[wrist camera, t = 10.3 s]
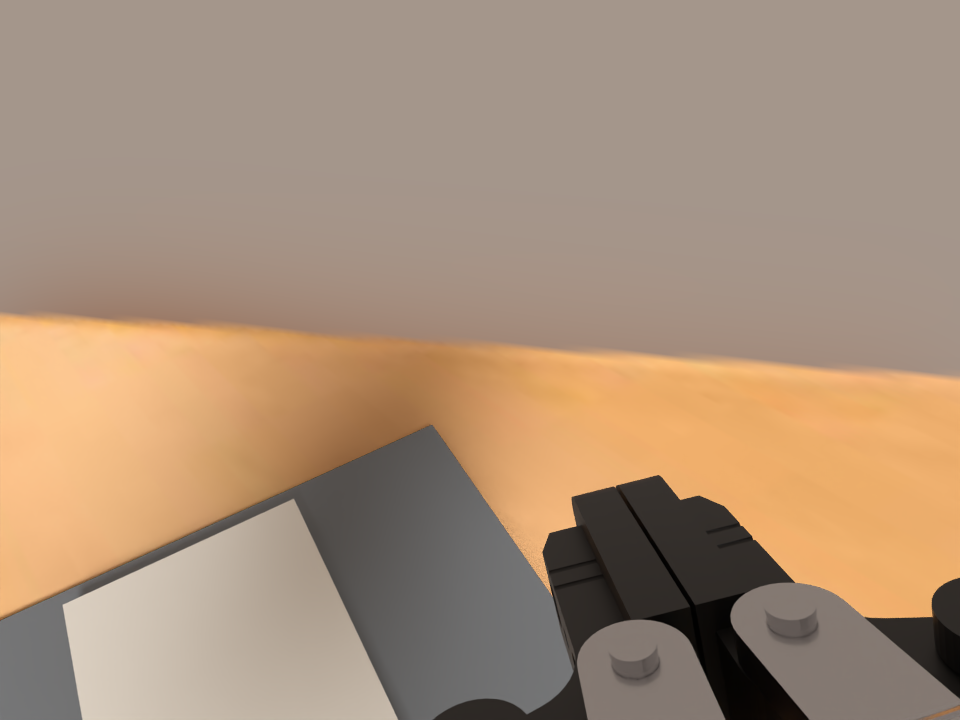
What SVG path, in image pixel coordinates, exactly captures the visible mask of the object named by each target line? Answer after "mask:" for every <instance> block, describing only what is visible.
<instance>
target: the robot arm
mask: <svg viewBox="0 0 960 720" xmlns="http://www.w3.org/2000/svg"><path fill="white" fill-rule="evenodd" d="M572 506H573V511H574V516H575V521H576V525H577V526H576V527H572V528H568V529H564V530H560V531H556V532H552V533H550V534H549V536H548V539H547V541H546V544H545V547H544V549H543V552H542V553H543V557H544V561H545V565H546V570H547V574H548V578H549V583H550V587H551V591H552V595H553V600H554V604H555V608H556V612H557V617H558V621H559V625H560V629H561V633H562V636H563V640H564V643H565V646H566V649H567V653H568V656H569V659H570V663H571V666H572V669H573V674H572V676H571V678H570V680H569V682H568V683H567V684H566V686H565V687H564V688H563V689H562V691H561V692H560V693H559V694H558V695H556V696H555V697H554V698H553V699H552V700H550V701H549V702H547V703H546V704H544V705H543V706H541V707H539V708H537V709H536V710H534V711H532V712H530V713H528V714H526V713H525V712H524V711H523V710H522V709H521V708H519V707H517V706H516V705H514V704H512V703H510V702H507V701H504V700H499V699H489V698H484V699H475V700H470V701H466V702H463V703H460V704H457V705H455V706H453V707H451V708H449V709H447V710H445V711H444V712H442V713H441V714H439V715H438V716H437V717H435V718H434V719H433V720H960V578H958V579H954V580H952V581H949V582H947V583H945V584H944V585H942V586H941V587H939V588H938V590H937V591H936V592H935V593H934V595H933V598H932V615H933V617H920V618H867V617H863V616H862V615H861V614H859V613H858V612H857V611H856V610H855V609H854V608H852V607H851V606H850V605H849V604H848V603H847V602H845V601H844V600H843V599H841V598H840V597H839V596H837V595H835V594H834V593H832V592H830V591H828V590H825V589H822V588H820V587H816V586H812V585H807V584H801V583H795V582H794V581H793V580H792V579H791V578H790V577H789V576H788V575H787V573H786V572H785V571H784V570H783V569H782V568H781V567H780V566H779V565H778V564H777V563H776V562H775V561H774V559H773V558H772V557H771V556H770V555H769V554H768V553H767V552H766V551H765V550H764V549H763V548H762V547H761V545H760V544H759V543H758V542H757V541H756V540H753V538H752V536H751V535H750V534H749V533H748V531H747V530H746V529H745V528H744V527H743V526H740V523H739V522H738V521H737V520H736V519H735V517H734V516H733V515H732V514H731V513H730V512H729V511H728V510H727V509H726V508H725V507H724V506H722V505H720V504H717V503H715V502H713V501H710V500H708V499H706V498H704V497H701V496H695V497H691V498H687V499H683V500H680V499H679V498H678V497H677V496H676V494H675V493H674V492H673V491H672V489H671V488H670V487H669V486H668V485H667V483H666V482H665V481H664V480H663V478H662V477H661V476H659V475H657V476H653V477H649V478H645V479H641V480H637V481H633V482H629V483H625V484H621V485H617V486H616V488H615V487H610V488H606V489H602V490H598V491H594V492H590V493H586V494H582V495H578V496H574V497H572Z"/></svg>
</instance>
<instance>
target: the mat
mask: <svg viewBox="0 0 960 720" xmlns="http://www.w3.org/2000/svg"><path fill="white" fill-rule="evenodd" d="M292 499H294V500H295V502H296V504H297V506H298V508H299V511H300V513H301V515H302V517H303V519H304V521H305V523H306V525H307V528H308V530H309V532H310V534H311V536H312V538H313V540H314V542H315V545H316V547H317V549H318V551H319V553H320V555H321V557H322V559H323V561H324V564H325V566H326V568H327V570H328V572H329V574H330V576H331V578H332V581H333V583H334V585H335V587H336V589H337V591H338V593H339V595H340V598H341V600H342V602H343V604H344V606H345V608H346V610H347V612H348V614H349V617H350V619H351V621H352V623H353V625H354V627H355V629H356V631H357V634H358V636H359V638H360V640H361V642H362V644H363V646H364V648H365V651H366V653H367V655H368V657H369V659H370V661H371V663H372V665H373V667H374V670H375V672H376V674H377V676H378V678H379V680H380V682H381V684H382V687H383V689H384V691H385V693H386V695H387V697H388V699H389V701H390V704H391V706H392V708H393V710H394V712H395V714H396V716H397V718H398V720H433V719H434V718H435V717H437V716H438V715H439V714H441V713H442V712H444V711H445V710H447V709H449V708H451V707H453V706H455V705H457V704H460V703H463V702H466V701H470V700H475V699H484V698H489V699H499V700H504V701H507V702H510V703H512V704H514V705H516V706H517V707H519V708H521V709H522V710H523V711H524V712H525V713H526V714H528V713H530V712H532V711H534V710H536V709H537V708H539V707H541V706H543V705H544V704H546V703H547V702H549V701H550V700H552V699H553V698H554V697H555V696H556V695H558V694H559V693H560V692H561V691H562V689H563V688H564V687H565V686H566V684H567V683H568V682H569V680H570V678H571V676H572V674H573V669H572V666H571V663H570V659H569V656H568V653H567V649H566V646H565V643H564V640H563V636H562V633H561V629H560V625H559V621H558V617H557V612H556V608H555V604H554V600H553V597H552V596H551V594H550V593H549V591H548V590H547V588H546V587H545V585H544V584H543V583H542V581H541V580H540V578H539V577H538V575H537V574H536V573H535V571H534V570H533V568H532V567H531V565H530V564H529V563H528V561H527V560H526V558H525V557H524V555H523V554H522V553H521V551H520V550H519V548H518V547H517V545H516V544H515V543H514V541H513V540H512V538H511V537H510V535H509V534H508V533H507V531H506V530H505V528H504V527H503V525H502V524H501V522H500V521H499V520H498V518H497V517H496V515H495V514H494V512H493V511H492V510H491V508H490V507H489V505H488V504H487V502H486V501H485V500H484V498H483V497H482V495H481V494H480V492H479V491H478V490H477V488H476V487H475V485H474V484H473V482H472V481H471V480H470V478H469V477H468V475H467V474H466V472H465V471H464V470H463V468H462V467H461V465H460V464H459V462H458V461H457V459H456V458H455V457H454V455H453V454H452V452H451V451H450V449H449V448H448V447H447V445H446V444H445V442H444V441H443V439H442V438H441V437H440V435H439V434H438V432H437V431H436V429H435V428H434V427H433V425H430V426H428V427H426V428H424V429H421V430H419V431H417V432H415V433H413V434H410V435H408V436H406V437H404V438H402V439H399V440H397V441H395V442H393V443H390V444H388V445H386V446H384V447H382V448H379V449H377V450H375V451H373V452H371V453H368V454H366V455H364V456H362V457H360V458H357V459H355V460H353V461H351V462H349V463H346V464H344V465H342V466H340V467H338V468H335V469H333V470H331V471H329V472H327V473H324V474H322V475H320V476H318V477H316V478H313V479H311V480H309V481H307V482H305V483H302V484H300V485H298V486H296V487H294V488H291V489H289V490H287V491H285V492H283V493H280V494H278V495H276V496H274V497H272V498H269V499H267V500H265V501H263V502H260V503H258V504H256V505H254V506H252V507H249V508H247V509H245V510H243V511H241V512H238V513H236V514H234V515H232V516H230V517H227V518H225V519H223V520H221V521H219V522H216V523H214V524H212V525H210V526H208V527H205V528H203V529H201V530H199V531H197V532H194V533H192V534H190V535H188V536H186V537H183V538H181V539H179V540H177V541H175V542H172V543H170V544H168V545H166V546H164V547H161V548H159V549H157V550H155V551H153V552H150V553H148V554H146V555H144V556H142V557H139V558H137V559H135V560H133V561H130V562H128V563H126V564H124V565H122V566H119V567H117V568H115V569H113V570H111V571H108V572H106V573H104V574H102V575H100V576H97V577H95V578H93V579H91V580H89V581H86V582H84V583H82V584H80V585H78V586H75V587H73V588H71V589H69V590H67V591H64V592H62V593H60V594H58V595H56V596H53V597H51V598H49V599H47V600H45V601H42V602H40V603H38V604H36V605H34V606H31V607H29V608H27V609H25V610H23V611H20V612H18V613H16V614H14V615H12V616H9V617H7V618H5V619H3V620H0V720H82V714H81V708H80V703H79V697H78V691H77V685H76V680H75V674H74V668H73V662H72V657H71V651H70V645H69V639H68V634H67V628H66V622H65V616H64V610H63V604H66V603H68V602H70V601H72V600H74V599H76V598H79V597H81V596H83V595H85V594H87V593H89V592H92V591H94V590H96V589H98V588H100V587H103V586H105V585H107V584H109V583H111V582H113V581H116V580H118V579H120V578H122V577H124V576H126V575H129V574H131V573H133V572H135V571H137V570H140V569H142V568H144V567H146V566H148V565H150V564H153V563H155V562H157V561H159V560H161V559H163V558H166V557H168V556H170V555H172V554H174V553H177V552H179V551H181V550H183V549H185V548H187V547H190V546H192V545H194V544H196V543H198V542H200V541H203V540H205V539H207V538H209V537H211V536H214V535H216V534H218V533H220V532H222V531H224V530H227V529H229V528H231V527H233V526H235V525H237V524H240V523H242V522H244V521H246V520H248V519H251V518H253V517H255V516H257V515H259V514H261V513H264V512H266V511H268V510H270V509H272V508H274V507H277V506H279V505H281V504H283V503H285V502H288V501H290V500H292Z"/></svg>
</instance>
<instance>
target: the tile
mask: <svg viewBox="0 0 960 720" xmlns="http://www.w3.org/2000/svg"><path fill="white" fill-rule="evenodd" d="M63 610H64V616H65V622H66V628H67V634H68V639H69V645H70V651H71V657H72V662H73V668H74V674H75V680H76V685H77V691H78V697H79V703H80V708H81V714H82V720H398V718H397V716H396V714H395V712H394V710H393V708H392V706H391V704H390V701H389V699H388V697H387V695H386V693H385V691H384V689H383V687H382V684H381V682H380V680H379V678H378V676H377V674H376V672H375V670H374V667H373V665H372V663H371V661H370V659H369V657H368V655H367V653H366V651H365V648H364V646H363V644H362V642H361V640H360V638H359V636H358V634H357V631H356V629H355V627H354V625H353V623H352V621H351V619H350V617H349V614H348V612H347V610H346V608H345V606H344V604H343V602H342V600H341V598H340V595H339V593H338V591H337V589H336V587H335V585H334V583H333V581H332V578H331V576H330V574H329V572H328V570H327V568H326V566H325V564H324V561H323V559H322V557H321V555H320V553H319V551H318V549H317V547H316V545H315V542H314V540H313V538H312V536H311V534H310V532H309V530H308V528H307V525H306V523H305V521H304V519H303V517H302V515H301V513H300V511H299V508H298V506H297V504H296V502H295V500H294V499H292V500H290V501H288V502H285V503H283V504H281V505H279V506H277V507H274V508H272V509H270V510H268V511H266V512H264V513H261V514H259V515H257V516H255V517H253V518H251V519H248V520H246V521H244V522H242V523H240V524H237V525H235V526H233V527H231V528H229V529H227V530H224V531H222V532H220V533H218V534H216V535H214V536H211V537H209V538H207V539H205V540H203V541H200V542H198V543H196V544H194V545H192V546H190V547H187V548H185V549H183V550H181V551H179V552H177V553H174V554H172V555H170V556H168V557H166V558H163V559H161V560H159V561H157V562H155V563H153V564H150V565H148V566H146V567H144V568H142V569H140V570H137V571H135V572H133V573H131V574H129V575H126V576H124V577H122V578H120V579H118V580H116V581H113V582H111V583H109V584H107V585H105V586H103V587H100V588H98V589H96V590H94V591H92V592H89V593H87V594H85V595H83V596H81V597H79V598H76V599H74V600H72V601H70V602H68V603H66V604H63Z"/></svg>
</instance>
